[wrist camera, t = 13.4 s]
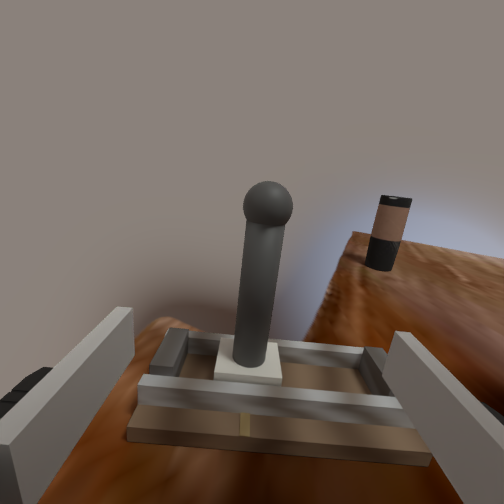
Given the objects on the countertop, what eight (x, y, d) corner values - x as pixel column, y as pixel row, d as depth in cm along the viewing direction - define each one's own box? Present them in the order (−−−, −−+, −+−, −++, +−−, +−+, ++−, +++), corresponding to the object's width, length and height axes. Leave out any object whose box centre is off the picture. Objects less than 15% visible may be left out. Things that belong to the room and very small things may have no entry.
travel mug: (382, 263, 78) (400, 197, 72) (398, 272, 70) (419, 199, 65) (359, 261, 77) (375, 194, 71) (372, 270, 70) (391, 196, 64)
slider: (274, 361, 28) (302, 184, 23) (278, 400, 23) (316, 186, 18) (219, 356, 28) (235, 177, 22) (212, 394, 23) (230, 176, 18)
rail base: (364, 362, 32) (373, 331, 31) (427, 466, 20) (445, 423, 19) (173, 344, 31) (174, 311, 30) (127, 441, 20) (125, 395, 19)
